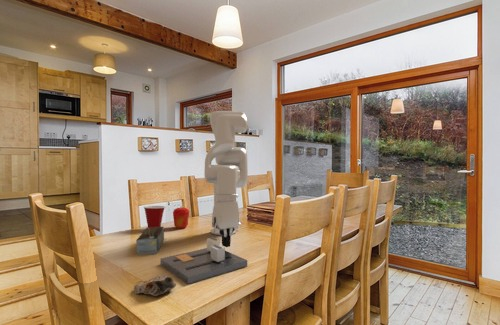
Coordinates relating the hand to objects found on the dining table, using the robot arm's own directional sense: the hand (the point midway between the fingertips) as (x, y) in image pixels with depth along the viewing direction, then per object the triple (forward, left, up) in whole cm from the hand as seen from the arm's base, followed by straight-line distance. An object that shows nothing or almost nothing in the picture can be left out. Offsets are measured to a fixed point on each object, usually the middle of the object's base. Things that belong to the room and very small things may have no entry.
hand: (226, 246), depth 107 cm
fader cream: (+6, 0, 0) cm, 6 cm away
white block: (+10, +9, 0) cm, 13 cm away
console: (+13, +5, -3) cm, 14 cm away
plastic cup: (+7, -55, -3) cm, 55 cm away
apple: (-5, -49, -3) cm, 49 cm away
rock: (+33, +13, -3) cm, 35 cm away
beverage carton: (+19, -27, -3) cm, 33 cm away
